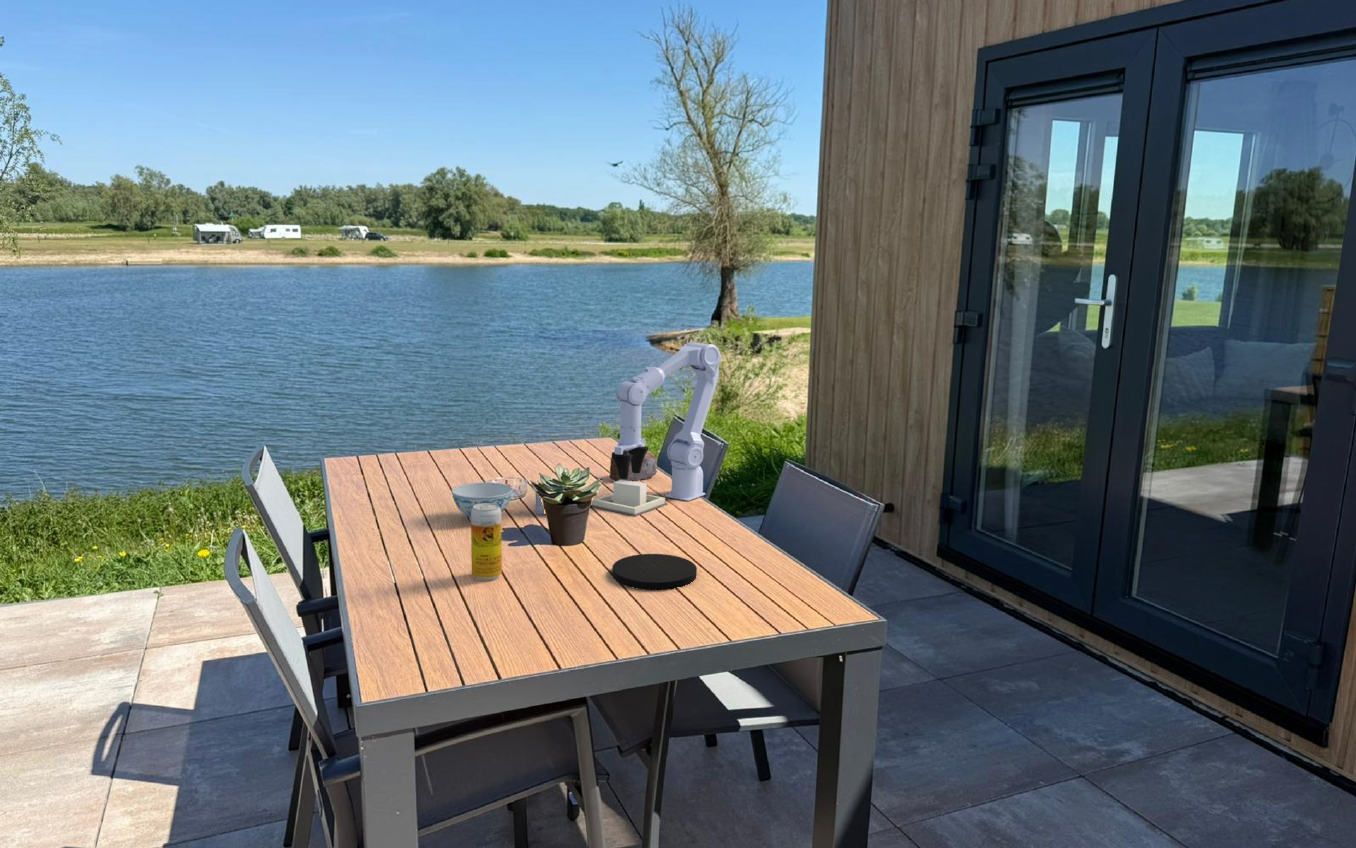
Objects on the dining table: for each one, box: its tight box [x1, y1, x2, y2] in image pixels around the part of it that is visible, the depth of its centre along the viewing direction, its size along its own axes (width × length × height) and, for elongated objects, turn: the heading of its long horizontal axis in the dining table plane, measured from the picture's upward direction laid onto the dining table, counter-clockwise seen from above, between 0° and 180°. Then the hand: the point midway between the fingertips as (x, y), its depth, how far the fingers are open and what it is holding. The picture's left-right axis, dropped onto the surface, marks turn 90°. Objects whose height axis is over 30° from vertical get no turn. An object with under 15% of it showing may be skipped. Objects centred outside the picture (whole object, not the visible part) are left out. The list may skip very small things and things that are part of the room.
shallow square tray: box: [591, 492, 668, 517], centre depth 235 cm, size 15×15×2 cm
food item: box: [608, 450, 658, 482], centre depth 264 cm, size 14×8×10 cm, turn 125°
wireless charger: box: [611, 553, 698, 591], centre depth 182 cm, size 18×18×2 cm
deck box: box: [613, 480, 648, 507], centre depth 234 cm, size 4×8×6 cm, turn 66°
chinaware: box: [451, 482, 514, 522], centre depth 218 cm, size 15×15×8 cm
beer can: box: [470, 503, 503, 582], centre depth 177 cm, size 6×6×15 cm
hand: (629, 475), depth 233 cm, fingers open, 7 cm apart
